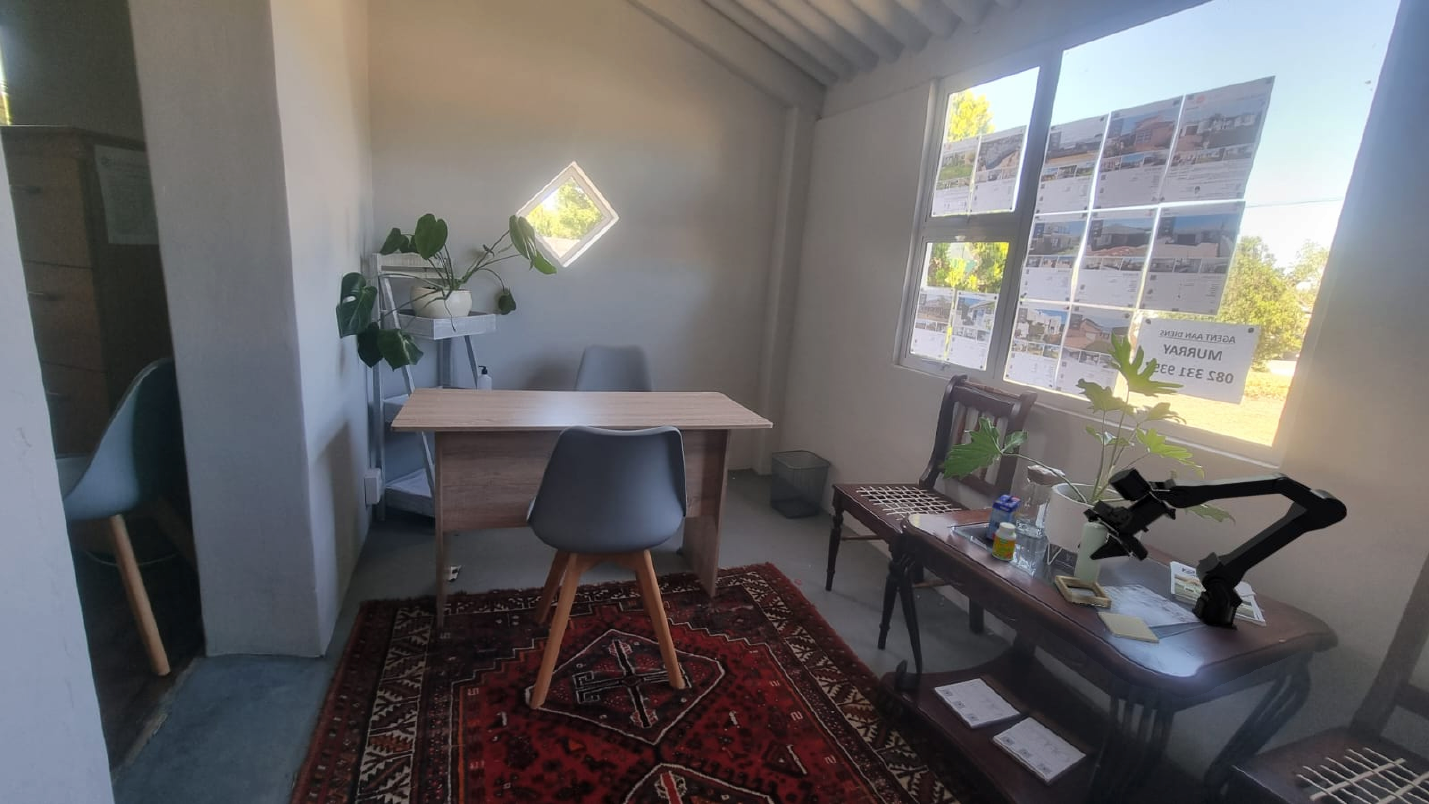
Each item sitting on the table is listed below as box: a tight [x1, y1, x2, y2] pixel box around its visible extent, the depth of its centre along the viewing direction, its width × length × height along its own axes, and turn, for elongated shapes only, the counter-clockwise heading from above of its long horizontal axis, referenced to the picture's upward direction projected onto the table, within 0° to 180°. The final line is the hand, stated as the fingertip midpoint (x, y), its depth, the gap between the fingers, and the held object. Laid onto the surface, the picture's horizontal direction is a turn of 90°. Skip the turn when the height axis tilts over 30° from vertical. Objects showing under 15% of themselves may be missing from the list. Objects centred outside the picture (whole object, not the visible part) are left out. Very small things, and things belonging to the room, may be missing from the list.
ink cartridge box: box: [985, 492, 1022, 541], centre depth 178 cm, size 10×6×14 cm, turn 136°
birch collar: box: [1053, 575, 1113, 609], centre depth 148 cm, size 10×10×2 cm
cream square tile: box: [1097, 611, 1160, 644], centre depth 135 cm, size 9×9×1 cm
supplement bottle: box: [991, 522, 1017, 562], centre depth 165 cm, size 5×5×10 cm
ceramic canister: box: [1073, 521, 1109, 583], centre depth 146 cm, size 5×5×14 cm
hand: (1084, 553), depth 146 cm, fingers closed on ceramic canister, 5 cm apart
